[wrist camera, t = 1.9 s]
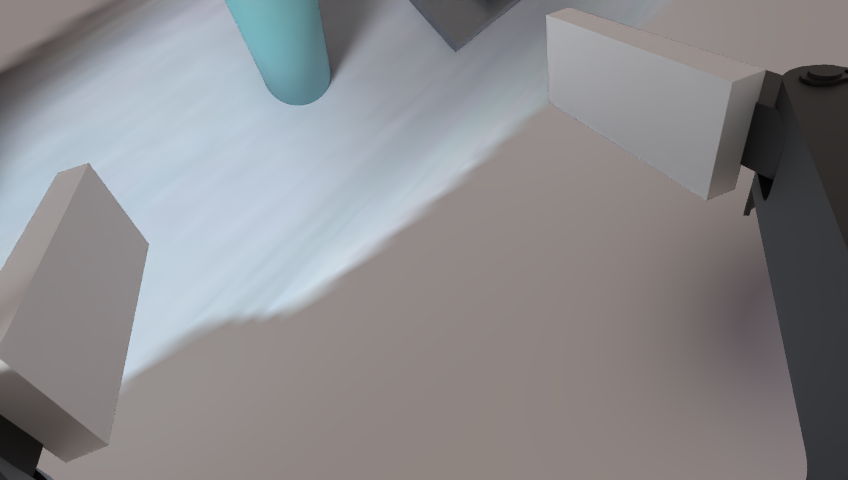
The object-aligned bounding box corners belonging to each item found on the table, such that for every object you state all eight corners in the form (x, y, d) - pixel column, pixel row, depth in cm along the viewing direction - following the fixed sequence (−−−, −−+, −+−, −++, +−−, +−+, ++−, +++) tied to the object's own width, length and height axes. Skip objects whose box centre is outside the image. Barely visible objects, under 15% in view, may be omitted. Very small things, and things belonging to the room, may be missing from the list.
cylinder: (269, 109, 32) (208, -6, 20) (258, 48, 32) (192, -102, 20) (336, 100, 32) (315, -19, 20) (324, 39, 33) (297, -111, 21)
